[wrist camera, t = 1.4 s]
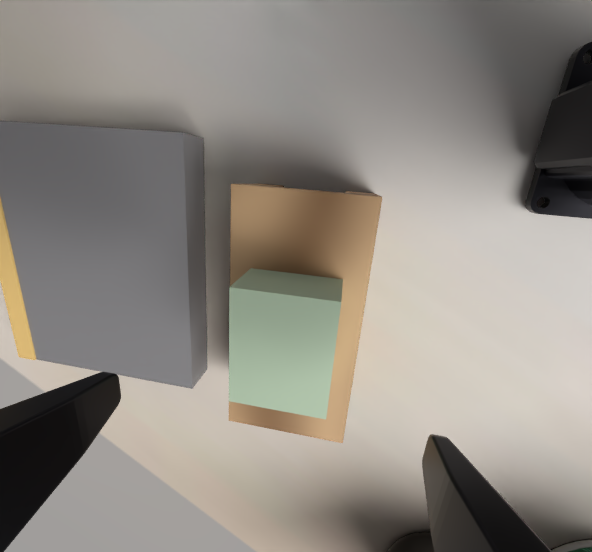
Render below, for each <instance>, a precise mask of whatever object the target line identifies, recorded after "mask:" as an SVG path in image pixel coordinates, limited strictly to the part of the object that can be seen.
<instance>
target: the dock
mask: <svg viewBox="0 0 592 552" xmlns="http://www.w3.org/2000/svg"><path fill="white" fill-rule="evenodd" d="M0 281H1V285H2V289H3V294H4V298H5V302H6V306H7V310H8V314H9V318H10V323H11V327H12V331H13V335H14V339H15V343H16V347H17V351H18V356H19V357H21V358H26V359H31V360H36V359H37V360H43V361H48V362H53V363H59V364H64V365H69V366H75V367H80V368H85V369H91V370H96V371H101V372H110V373H115V374H117V375H123V376H128V377H133V378H138V379H144V380H149V381H154V382H160V383H165V384H170V385H176V386H181V387H186V388H193V387H194V386H195V384H196V383H197V382H198V380H199V379H200V378H201V377H202V375H203V374H204V373H205V371H206V370H207V327H206V268H205V210H204V151H203V138H200V137H197V136H193V135H190V134H187V133H183V132H169V131H154V130H138V129H122V128H107V127H91V126H75V125H59V124H44V123H28V122H12V121H0Z"/></svg>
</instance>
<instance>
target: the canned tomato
mask: <svg viewBox="0 0 592 552" xmlns="http://www.w3.org/2000/svg"><path fill="white" fill-rule="evenodd" d="M552 552H592V540H583V541H576V542H572V543H569V544H565V545H562V546H560V547H558V548H555V549H553V550H552Z"/></svg>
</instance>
